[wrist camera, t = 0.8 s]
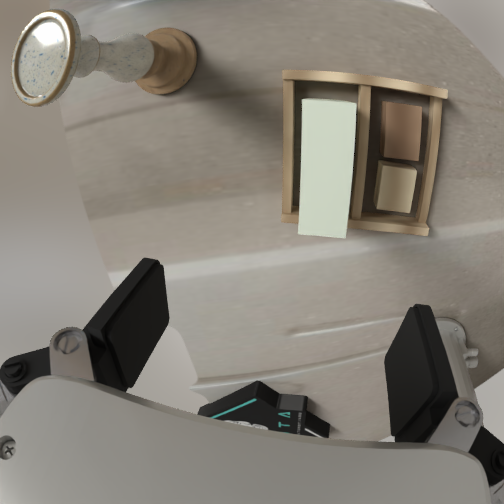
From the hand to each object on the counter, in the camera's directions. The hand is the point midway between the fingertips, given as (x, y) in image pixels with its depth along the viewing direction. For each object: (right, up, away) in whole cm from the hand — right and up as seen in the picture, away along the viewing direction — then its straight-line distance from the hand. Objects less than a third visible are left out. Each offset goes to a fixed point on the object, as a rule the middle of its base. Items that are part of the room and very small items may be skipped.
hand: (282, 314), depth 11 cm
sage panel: (+7, +14, +22) cm, 27 cm away
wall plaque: (+1, -35, +52) cm, 62 cm away
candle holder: (-12, +25, +20) cm, 35 cm away
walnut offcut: (+15, +16, +19) cm, 29 cm away
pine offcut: (+15, +10, +22) cm, 29 cm away
